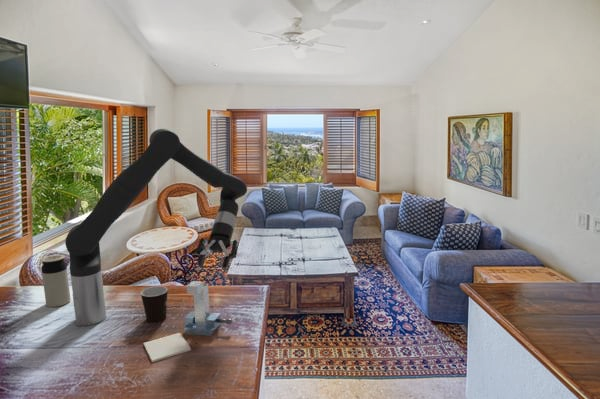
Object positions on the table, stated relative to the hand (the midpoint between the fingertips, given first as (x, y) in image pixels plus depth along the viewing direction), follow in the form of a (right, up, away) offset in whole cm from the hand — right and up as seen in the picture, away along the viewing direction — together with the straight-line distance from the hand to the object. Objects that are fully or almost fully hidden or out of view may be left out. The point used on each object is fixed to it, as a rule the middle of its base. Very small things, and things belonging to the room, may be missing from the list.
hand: (212, 267), depth 135 cm
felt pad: (-10, -21, -17) cm, 29 cm away
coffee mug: (-19, -18, +3) cm, 26 cm away
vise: (+1, -19, -6) cm, 20 cm away
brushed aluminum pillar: (-2, -17, -8) cm, 19 cm away
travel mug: (-62, -16, +15) cm, 65 cm away
